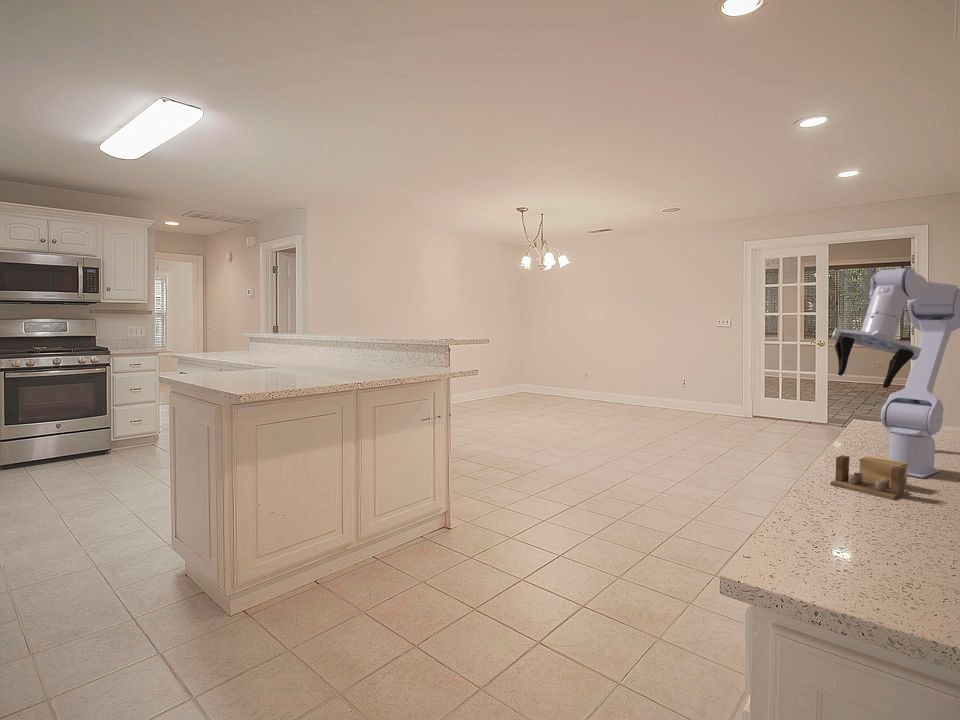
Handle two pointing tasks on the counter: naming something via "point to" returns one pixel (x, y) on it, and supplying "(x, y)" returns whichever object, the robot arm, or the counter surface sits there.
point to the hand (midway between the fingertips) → (863, 379)
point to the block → (879, 468)
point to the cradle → (868, 487)
